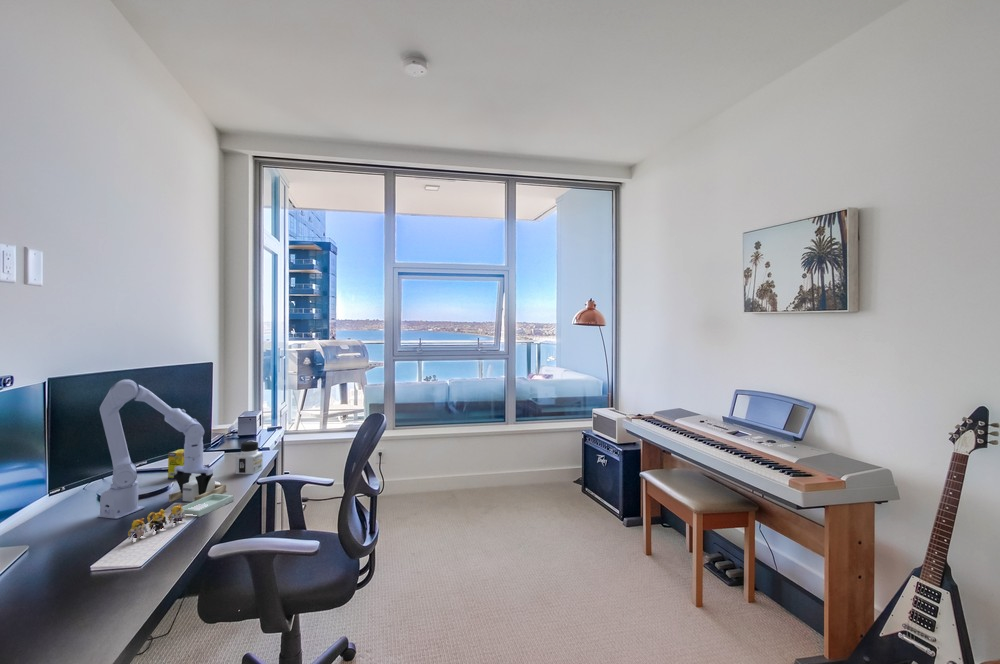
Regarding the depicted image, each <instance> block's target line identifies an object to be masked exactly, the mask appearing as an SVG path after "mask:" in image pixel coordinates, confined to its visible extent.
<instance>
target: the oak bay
mask: <svg viewBox="0 0 1000 664" xmlns="http://www.w3.org/2000/svg"><path fill="white" fill-rule="evenodd" d="M224 493H227V485H226V484H219V483H215V489H213V490H211V491H208V492H206V493H204V494H201V495H199V496H196V497H194V501H197V500H199V499H201V498H204V497H206V496H208V495H211V494H224ZM179 499H183V493H181V490H180V489H179V490H178V491H175V492H173V493H170V494H168V502H169V503H172V502H174V501H177V500H179ZM194 501H193V502H194Z"/></svg>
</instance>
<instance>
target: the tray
mask: <svg viewBox="0 0 1000 664" xmlns="http://www.w3.org/2000/svg"><path fill="white" fill-rule="evenodd" d="M234 496H235V495H232V494H224V493H222V494H211V495H208V496H206V497H204V498H201V499H199V500H197V501H193V502H190V503H188V504H185V505H181V508H182V509H183V510H184V514H193V515H197V516H198V517H197V518H200V517H203V516H204V515H207V514H209V513H211V512H213V511H215V510H217V509H219V508H223V506H226V505H228V504H230V503H232V502H234V500H235V499H234ZM204 503H205V504H208V506H207V507H204V508H202V509H200V510H194V509H188V508H191V507H194V506H196V505H198V504H204Z"/></svg>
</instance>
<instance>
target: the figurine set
mask: <svg viewBox="0 0 1000 664" xmlns="http://www.w3.org/2000/svg"><path fill="white" fill-rule="evenodd" d="M181 507H182V504H177V505H173V507H172V508H171V510H170V512H171V513H170V514H169V515H168V517H167V518H168V521H166V520H167V519H166V515H165V513H166V510H164V509H163V508H161V509H160V510H159V512H154V511H152V512H150V513H149V514H148V515H147V517H146V519H147V522H148V528H149V530H148V528H147V524H145V522H144V520H145V517H141V518H140V519H136V520H133V522H132V523H131V528H130V529H129V531H128V532H127V536H128V538H127V539H128V540H131V539H133V538H140V537H141V536H143V535H144V536H145V533H148V532H152V531H153V530H155V531H157V530H158V531H160V529H162V528H164V529H165V526H166V525H167V526H168V524H171V523H172V524H173V523H176V524H177V523H179V521H183V519H184V518H187V516H185V514H184V510H183V509H182V508H181ZM151 516H152V517H151ZM158 531H157V532H158Z"/></svg>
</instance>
